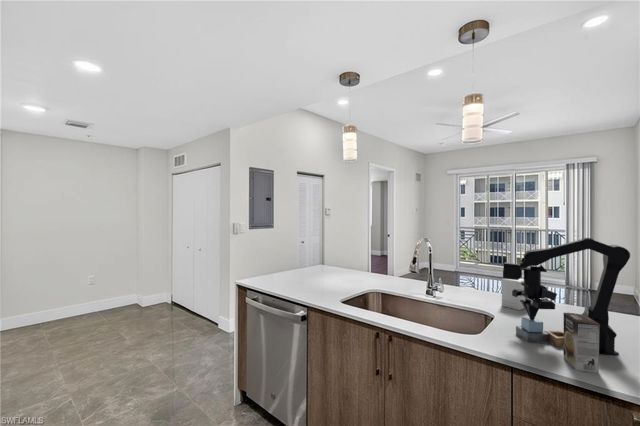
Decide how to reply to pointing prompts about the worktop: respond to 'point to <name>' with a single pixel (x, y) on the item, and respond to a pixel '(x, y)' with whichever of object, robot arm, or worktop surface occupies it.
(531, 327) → the plug
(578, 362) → the coffee box
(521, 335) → the port
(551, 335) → the tan shallow tray
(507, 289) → the supplement box
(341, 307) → the worktop surface
